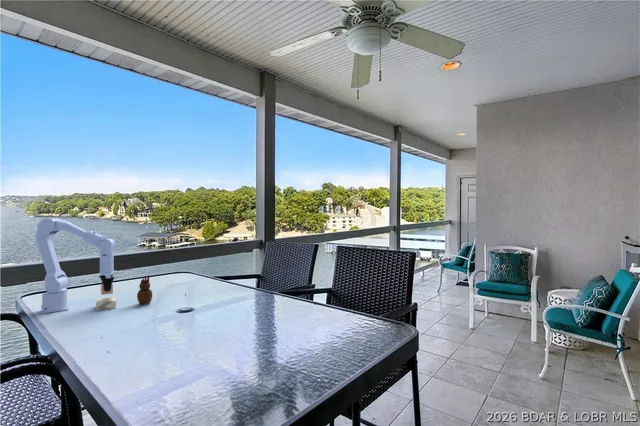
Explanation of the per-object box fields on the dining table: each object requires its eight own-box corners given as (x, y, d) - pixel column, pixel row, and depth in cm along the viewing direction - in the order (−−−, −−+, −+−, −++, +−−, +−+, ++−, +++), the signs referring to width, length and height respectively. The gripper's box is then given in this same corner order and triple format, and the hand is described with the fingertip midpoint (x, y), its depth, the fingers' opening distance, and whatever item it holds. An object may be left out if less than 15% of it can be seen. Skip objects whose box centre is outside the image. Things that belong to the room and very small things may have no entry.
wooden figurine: (154, 302, 169) (154, 273, 169) (147, 305, 164) (147, 276, 163) (142, 301, 170) (142, 273, 170) (134, 305, 164) (135, 275, 164)
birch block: (96, 311, 155) (96, 302, 155) (97, 306, 162) (97, 298, 162) (115, 308, 159) (115, 300, 159) (116, 304, 166) (116, 296, 166)
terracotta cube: (101, 294, 157) (101, 285, 157) (100, 292, 161) (100, 283, 161) (112, 293, 160) (112, 284, 160) (111, 291, 164) (111, 282, 164)
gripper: (118, 264, 157) (118, 292, 157) (114, 260, 168) (114, 286, 169) (100, 265, 153) (100, 294, 153) (97, 261, 164) (97, 288, 164)
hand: (106, 290), depth 161 cm, fingers closed on terracotta cube, 4 cm apart
